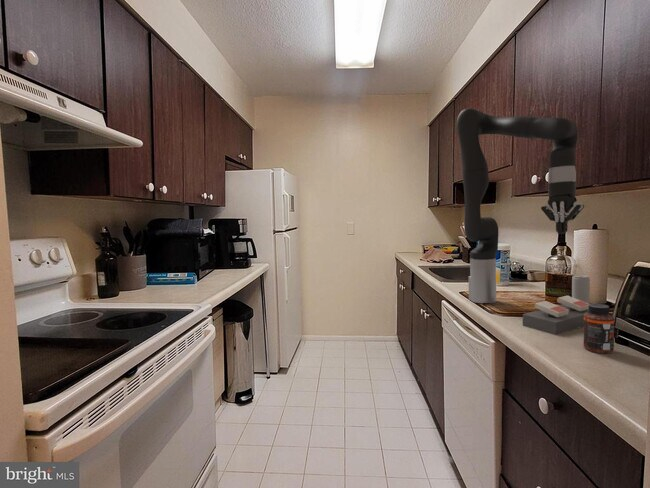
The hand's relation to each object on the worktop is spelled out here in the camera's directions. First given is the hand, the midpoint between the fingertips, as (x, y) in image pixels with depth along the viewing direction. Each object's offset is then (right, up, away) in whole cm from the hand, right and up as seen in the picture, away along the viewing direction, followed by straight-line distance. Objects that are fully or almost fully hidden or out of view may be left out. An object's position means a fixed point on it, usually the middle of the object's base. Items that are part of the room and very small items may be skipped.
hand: (561, 233), depth 113 cm
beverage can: (+9, -27, +3) cm, 28 cm away
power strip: (-6, -28, -8) cm, 30 cm away
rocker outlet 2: (-1, -22, -6) cm, 23 cm away
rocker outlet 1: (-11, -23, -11) cm, 28 cm away
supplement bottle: (-11, -30, -29) cm, 43 cm away
